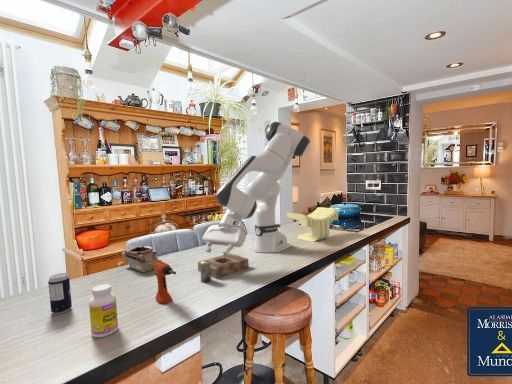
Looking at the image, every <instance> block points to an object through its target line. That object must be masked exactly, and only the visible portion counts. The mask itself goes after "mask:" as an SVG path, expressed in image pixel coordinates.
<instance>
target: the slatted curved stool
mask: <svg viewBox="0 0 512 384" xmlns="http://www.w3.org/2000/svg"><path fill="white" fill-rule="evenodd" d="M286 217H287V218H290V219H293V220H297V221H298V222H299V223H300V225H301V226H300V227H302V228H309V227H310V229H311V232H307V233H306V232H305V233H302V234H298V235H297V239H299V240H303V241H309V242H316V241H320V240H322V239H324V240H325V239H327V238H329V236H330V228H331V223H332V222H334V221H339V213H338V210H337V209H336V208H334V207H333V208H331V207H330V208H329V207H322V206H320V207H316V209H315V210H314V211H312V212H311V213H309V214H307V215H306V214H304V213H294V212H286Z"/></svg>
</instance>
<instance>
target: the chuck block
mask: <svg viewBox="0 0 512 384" xmlns="http://www.w3.org/2000/svg"><path fill="white" fill-rule="evenodd" d="M206 260H210V269H211V278H213V279H218V278H221V277H222V278H223V277H224V276H227V275H230V274H233V273H236V272H238V271H243V270H246V269H248V268H249V267H250V266H249V258H247V257H244V256H241V255H238V254H233V253H230V252H229V253H228V255H224V254H223V255H219V256H215V257H212V258H207V259H206ZM197 269H198V270H197V271H198V272H199V273H201V270H200V261H198V262H197Z"/></svg>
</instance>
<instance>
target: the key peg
mask: <svg viewBox="0 0 512 384" xmlns="http://www.w3.org/2000/svg"><path fill="white" fill-rule="evenodd" d="M199 262H200V270H201V272H200V281H201V283H203V284H206V283H209V282H212V277H211V269H210V260H207V259H203V260H200V261H199Z"/></svg>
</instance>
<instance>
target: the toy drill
mask: <svg viewBox="0 0 512 384" xmlns="http://www.w3.org/2000/svg"><path fill="white" fill-rule="evenodd" d="M153 274H154V275H155V276H156V278H157V293H156V294H155V300H156V302H157V303H158V304H159V305H160V304H161V305H166V304H168V303H171V302H172V301H173V298H172V296H171V294H170V293H169V292H168V285H167V277H166V276H167V275H169V276H170V275H176V274H177V272H176V271H175V270H173V268H172V267H171V265H169V263H166V262H164V261H162V260H161V259H158V261H157V262H156V263H155V265H154V269H153Z"/></svg>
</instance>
